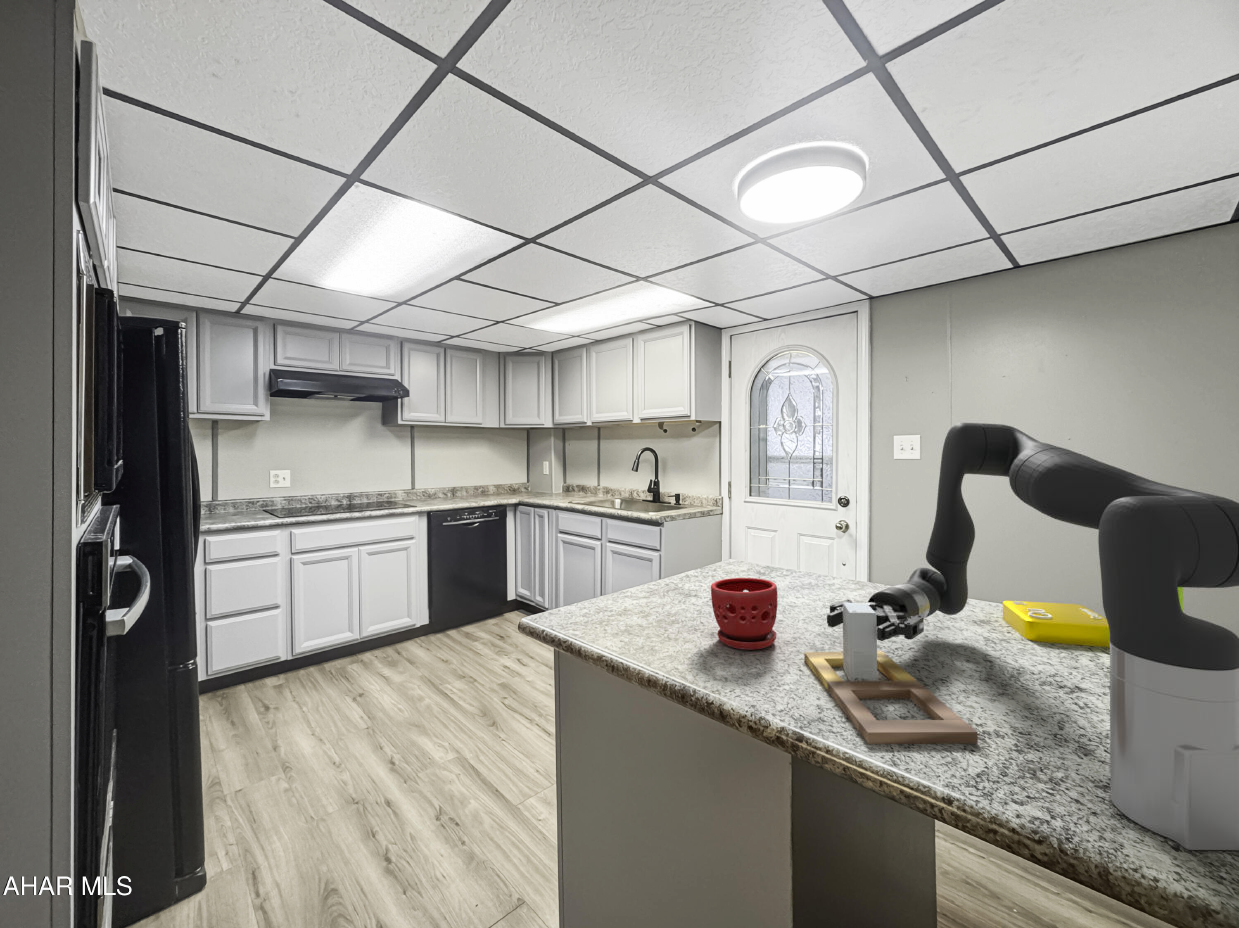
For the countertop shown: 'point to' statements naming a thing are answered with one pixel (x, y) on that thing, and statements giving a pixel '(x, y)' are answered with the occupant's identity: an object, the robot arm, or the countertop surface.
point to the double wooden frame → (901, 686)
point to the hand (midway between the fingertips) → (853, 627)
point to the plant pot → (745, 612)
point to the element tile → (1057, 623)
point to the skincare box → (859, 642)
